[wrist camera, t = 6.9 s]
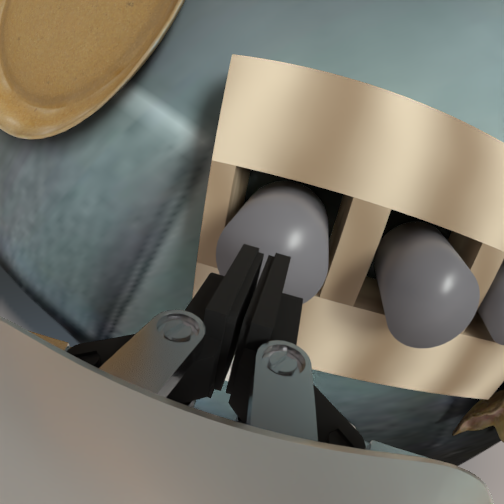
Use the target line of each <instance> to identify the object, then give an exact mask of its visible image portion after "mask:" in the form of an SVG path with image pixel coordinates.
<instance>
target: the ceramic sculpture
mask: <svg viewBox="0 0 504 504" xmlns="http://www.w3.org/2000/svg"><path fill="white" fill-rule="evenodd" d="M489 426H494V427H495V428H496V430H497V432H498V435H499V437H500V439H501V440H502V441H503V442H504V389H503V390H501V391H498V392H496V393H494V394H493V395H492V396H491V397H490V398H489V399H488V400H487V399H482V400H480V401H479V402H477V403H476V404H475V405H474V406H473V407H472V408H471V410H470V411H469V412H468V413H467V414H466V415H465V416H464V417H463V419H462V420H461V421H460V423H459V424H458V426H457V427H456V428H455V430H454V431H453V434H452V435H456V434H459V433H461V432H464V431H467V430H470V431H477V430H482V429H484V428H486V427H489Z"/></svg>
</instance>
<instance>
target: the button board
mask: <svg viewBox="0 0 504 504" xmlns="http://www.w3.org/2000/svg"><path fill="white" fill-rule="evenodd" d="M251 169H252V170H256V171H260V172H264V173H268V174H272V175H276V176H280V177H284V178H288V179H292V180H295V181H299V182H303V183H306V184H310V185H314V186H317V187H321V188H324V189H328V190H331V191H335V192H338V193H341V194H343V197H342V201H341V204H340V207H339V210H338V214H337V217H336V220H335V223H334V226H333V230H332V233H331V236H330V239H329V242H328V248H329V256H328V272H327V276H326V279H325V281H324V284H323V285H322V287H321V289H320V290H319V291H318V292H317V294H316V295H315V296H314V297H312V298H311V299H310V300H309V301H307V302H306V303H304V304H302V311H301V318H300V325H299V332H298V338H297V346H299V347H300V348H301V349H303V350H304V351H305V352H306V353H307V355H308V356H309V358H310V361H311V365H312V369H314V370H318V371H322V372H327V373H331V374H335V375H340V376H344V377H349V378H353V379H358V380H363V381H368V382H372V383H378V384H383V385H388V386H393V387H399V388H405V389H411V390H417V391H423V392H430V393H436V394H444V395H451V396H459V397H467V398H477V399H487V400H488V399H489V398H490V397H491V396H492V395H493V394H494V392H495V391H496V390H497V389H498V388H499V386H500V385H501V384H502V383H503V381H504V345H500V344H498V343H496V342H495V341H494V340H493V338H492V337H491V335H490V333H489V331H488V329H487V327H486V325H485V324H484V322H483V320H482V318H481V317H480V315H479V313H478V311H476V313H475V315H474V317H473V319H472V321H471V322H470V324H469V325H468V326H467V327H466V328H465V330H464V331H462V332H461V333H460V334H459V335H458V336H457V337H455V338H454V339H452V340H451V341H449V342H447V343H445V344H442V345H440V346H436V347H432V348H413V347H409V346H406V345H404V344H402V343H400V342H399V341H398V340H396V339H395V338H394V337H393V335H392V334H391V332H390V331H389V329H388V326H387V322H386V317H385V313H384V308H383V304H382V299H381V295H380V291H379V287H378V282H377V279H374V278H371V277H367V276H366V275H367V272H368V270H369V267H370V265H371V262H372V260H373V257H374V255H375V252H376V250H377V247H378V245H379V242H380V239H381V237H382V234H383V231H384V228H385V226H386V223H387V220H388V217H389V214H390V212H391V209H392V210H395V211H398V212H401V213H404V214H407V215H410V216H413V217H416V218H419V219H421V220H424V221H427V222H430V223H433V224H435V225H438V226H441V227H443V228H446V229H449V230H451V234H450V236H449V239H448V242H449V243H450V245H451V246H452V247H453V248H454V250H455V251H456V252H457V253H458V255H459V256H460V257H461V259H462V260H463V261H464V262H465V264H466V265H467V266H468V268H469V269H470V270H471V272H472V273H473V275H474V276H475V278H476V280H477V282H478V285H479V290H480V299H479V305H478V308H479V306H480V304H481V302H482V301H483V299H484V297H485V295H486V293H487V291H488V290H489V288H490V286H491V284H492V282H493V280H494V278H495V276H496V274H497V272H498V270H499V268H500V266H501V264H502V261H503V259H504V143H503V142H501V141H500V140H498V139H496V138H494V137H492V136H491V135H489V134H487V133H485V132H483V131H481V130H479V129H477V128H475V127H473V126H471V125H469V124H467V123H465V122H463V121H461V120H459V119H457V118H455V117H452V116H450V115H448V114H446V113H444V112H441V111H439V110H437V109H434V108H432V107H430V106H427V105H425V104H422V103H420V102H417V101H415V100H412V99H410V98H407V97H404V96H402V95H399V94H396V93H394V92H391V91H388V90H385V89H382V88H379V87H376V86H373V85H370V84H367V83H363V82H360V81H357V80H353V79H350V78H347V77H343V76H339V75H336V74H332V73H328V72H324V71H320V70H316V69H312V68H307V67H303V66H298V65H294V64H289V63H284V62H278V61H273V60H267V59H261V58H255V57H248V56H241V55H234V54H232V58H231V62H230V67H229V72H228V77H227V82H226V87H225V91H224V97H223V102H222V107H221V112H220V117H219V123H218V128H217V134H216V139H215V145H214V150H213V156H212V162H211V168H210V174H209V180H208V187H207V193H206V199H205V206H204V213H203V220H202V227H201V234H200V241H199V248H198V256H197V263H196V271H195V280H194V288H193V296H192V299H193V298H194V296H195V295H196V293H197V292H198V290H199V289H200V287H201V286H202V284H203V283H204V281H205V280H206V278H207V277H208V275H209V274H210V273H216V274H219V271H218V268H217V263H216V247H217V243H218V239H219V237H220V235H221V233H222V231H223V230H224V228H225V227H226V226H227V224H228V223H229V222H230V221H231V220H232V218H233V217H234V216H235V215H236V214H237V213H238V211H239V210H240V209H241V208H242V207H243V205H244V201H245V196H246V191H247V186H248V181H249V176H250V171H251ZM219 275H220V274H219ZM478 308H477V309H478Z"/></svg>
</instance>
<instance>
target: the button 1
mask: <svg viewBox="0 0 504 504" xmlns="http://www.w3.org/2000/svg"><path fill="white" fill-rule="evenodd" d="M243 244H247V245H250V246H254V247H257V248H259V252H260V253H263V254H264V257H263V261H262V265H261V269H260V273H259V277H258V281H259V279H260V276H261V274H262V271H263V268H264V266H265V263H266V261H267V258H268V256H269V255H271V256H274V257H275V254H276V253H279V254H283V255H286V256H290V257H291V259H290V263H289V268H288V272H287V276H286V280H285V284H284V288H283V292H282V293H285V294H289V295H292V296H296V297H300V298H303V304H304V303H306V302H307V301H309V300H310V299H311V298H312V297H314V296H315V295H316V294H317V292H318V291H319V290H320V289H321V287H322V285H323V284H324V281H325V279H326V276H327V272H328V256H329V248H328V216H327V212H326V209H325V206H324V204H323V202H322V201H321V200H320V198H319V197H318V196H317V195H316V194H315V193H314V192H313V191H312V190H311V189H309V188H308V187H306V186H304V185H302V184H299V183H296V182H292V181H276V182H272V183H269V184H266V185H264V186H262V187H261V188H259V189H258V190H257V191H256V192H255V193H254V194H253V195H252V196H251V197H250V198H249V200H248V201H247V202H246V203H245V204H244V205H243V207H242V208H241V209H240V210H239V211H238V213H237V214H236V215H235V216H234V217H233V218H232V220H231V221H230V222H229V223H228V224H227V226H226V227H225V228H224V230H223V231H222V233H221V235H220V237H219V239H218V243H217V247H216V263H217V268H218V271H219V274H220V275H223V276H225V275H226V273H227V271H228V270H229V268H230V266H231V265H232V263H233V261H234V259H235V258H236V256H237V254H238V253H239V251H240V249H241V248H242V246H243ZM258 281H257V284H258ZM256 286H257V285H256Z"/></svg>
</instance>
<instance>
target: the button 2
mask: <svg viewBox="0 0 504 504" xmlns="http://www.w3.org/2000/svg"><path fill="white" fill-rule="evenodd" d="M477 311H478V313H479V315H480V317H481V318H482V320H483V322H484V324H485V325H486V327H487V329H488V331H489V333H490V335H491V337H492V338H493V340H494V341H495V342H496V343H498V344H500V345H504V259H503V261H502V264H501V266H500V268H499V270H498V272H497V274H496V276H495V278H494V280H493V282H492V284H491V286H490V288H489V290H488V291H487V293H486V295H485V297H484V299H483V301H482V302H481V304H480V306H479V308H478V309H477Z"/></svg>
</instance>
